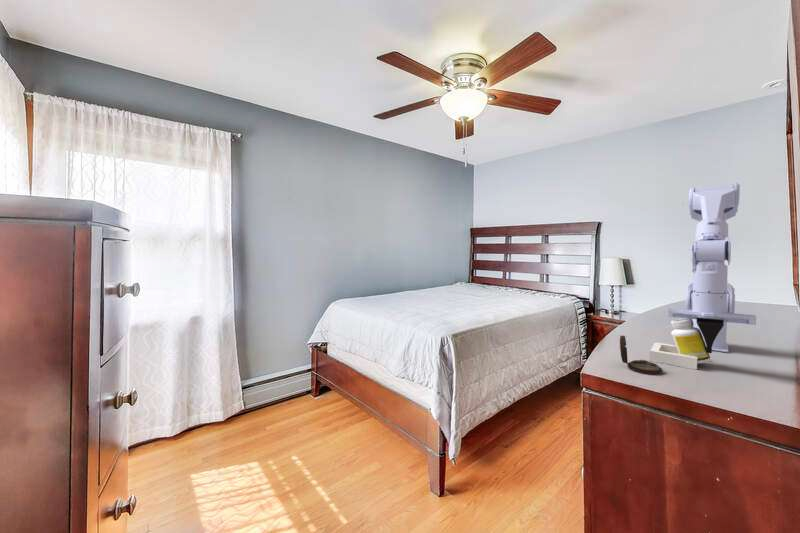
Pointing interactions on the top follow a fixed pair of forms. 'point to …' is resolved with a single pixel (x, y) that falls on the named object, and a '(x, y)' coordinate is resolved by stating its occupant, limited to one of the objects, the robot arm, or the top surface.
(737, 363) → the top surface
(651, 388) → the top surface
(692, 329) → the supplement bottle
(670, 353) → the can dock
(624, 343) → the compass
